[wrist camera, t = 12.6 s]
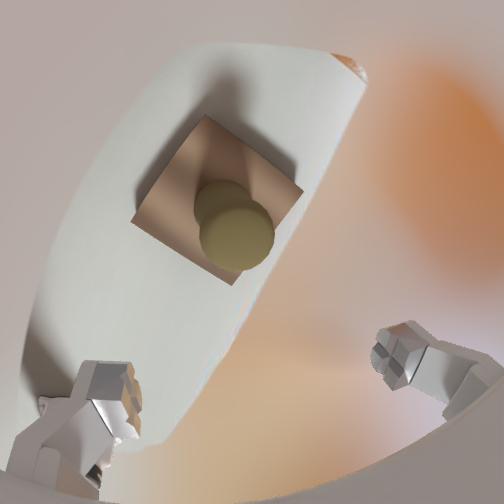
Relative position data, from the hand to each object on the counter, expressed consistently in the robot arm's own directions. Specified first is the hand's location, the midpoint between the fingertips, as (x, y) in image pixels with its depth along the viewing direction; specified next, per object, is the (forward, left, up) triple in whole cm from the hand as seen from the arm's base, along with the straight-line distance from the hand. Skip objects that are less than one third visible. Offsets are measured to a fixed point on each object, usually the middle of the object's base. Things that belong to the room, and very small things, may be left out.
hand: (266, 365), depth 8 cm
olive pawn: (+1, 0, -22) cm, 21 cm away
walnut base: (+1, 0, -24) cm, 24 cm away
